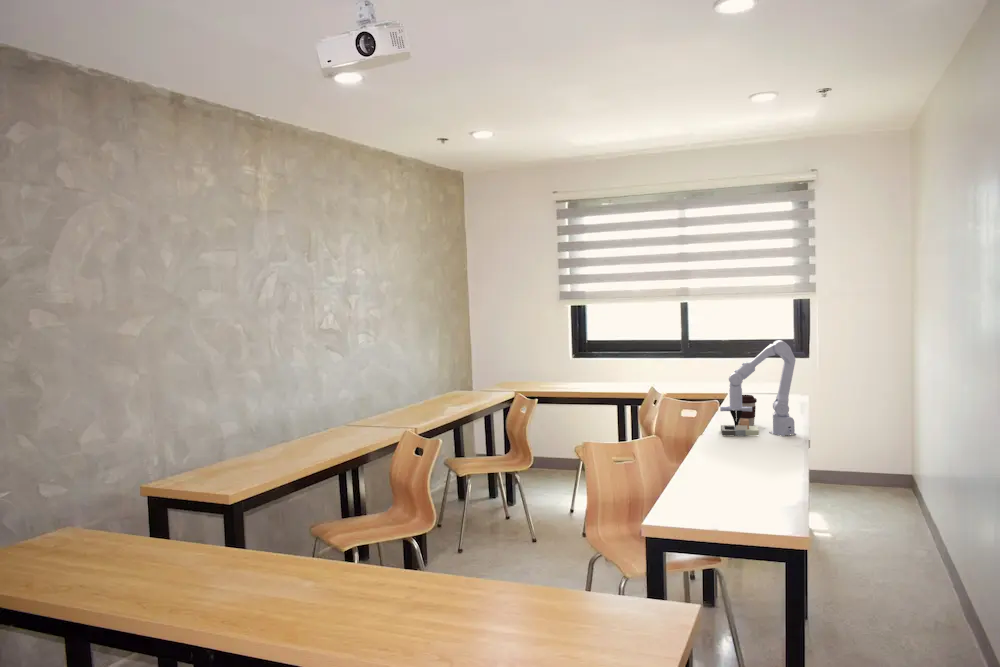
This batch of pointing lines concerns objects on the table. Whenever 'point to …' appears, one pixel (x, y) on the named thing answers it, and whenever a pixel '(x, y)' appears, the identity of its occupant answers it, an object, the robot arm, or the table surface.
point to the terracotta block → (744, 422)
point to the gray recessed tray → (732, 430)
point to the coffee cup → (749, 402)
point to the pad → (752, 430)
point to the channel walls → (741, 427)
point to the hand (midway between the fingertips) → (736, 426)
